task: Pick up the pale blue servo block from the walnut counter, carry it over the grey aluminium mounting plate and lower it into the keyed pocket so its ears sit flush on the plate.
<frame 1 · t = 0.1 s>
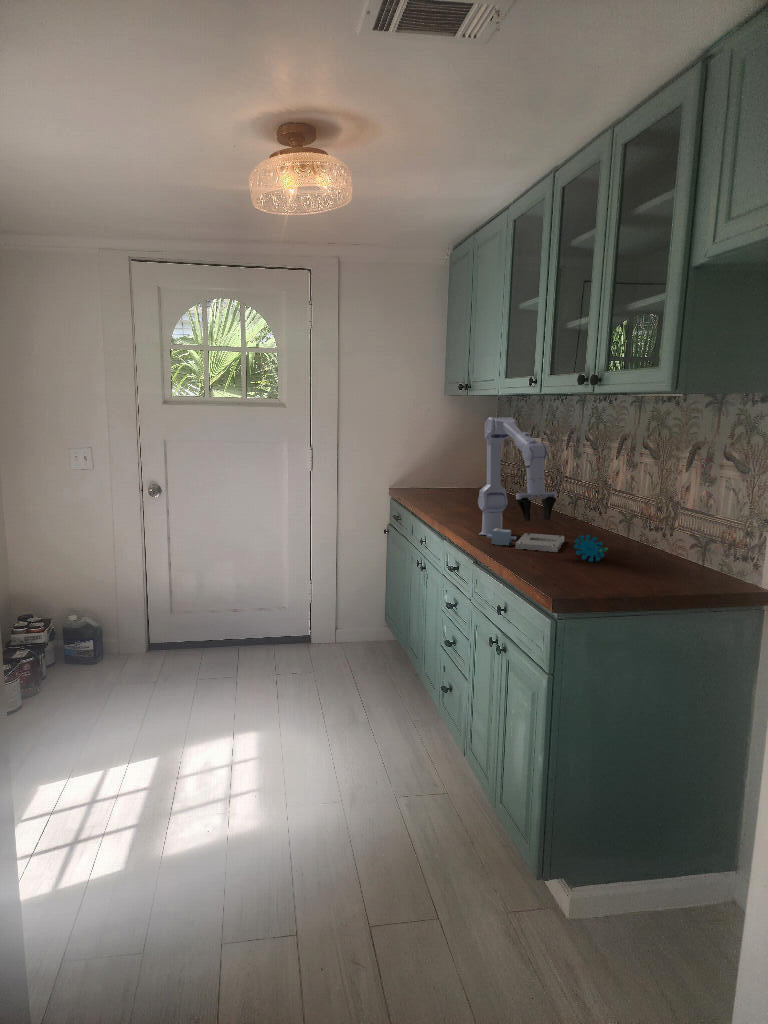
hand: (537, 520, 226), 11 cm above the worktop, tool pointing down, fingers open, 7 cm apart
gear: (590, 560, 216), on the worktop
servo: (501, 544, 239), on the worktop
plate: (540, 545, 238), on the worktop
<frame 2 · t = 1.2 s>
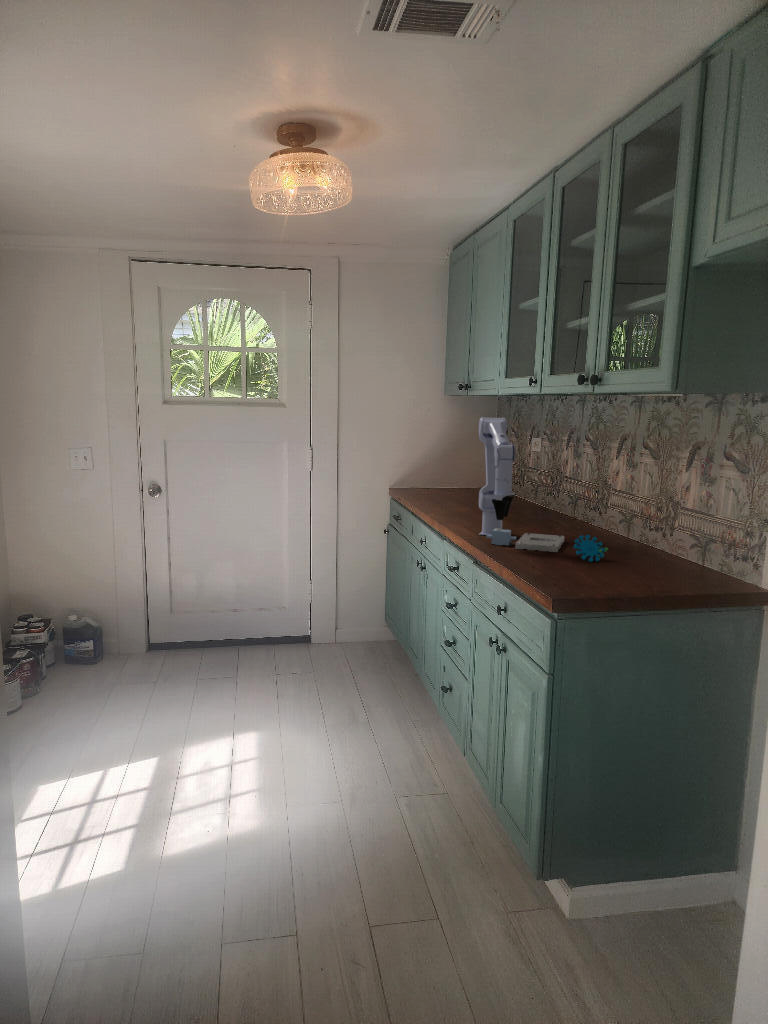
hand: (502, 518, 237), 9 cm above the worktop, tool pointing down, fingers open, 7 cm apart
nothing on the worktop moved.
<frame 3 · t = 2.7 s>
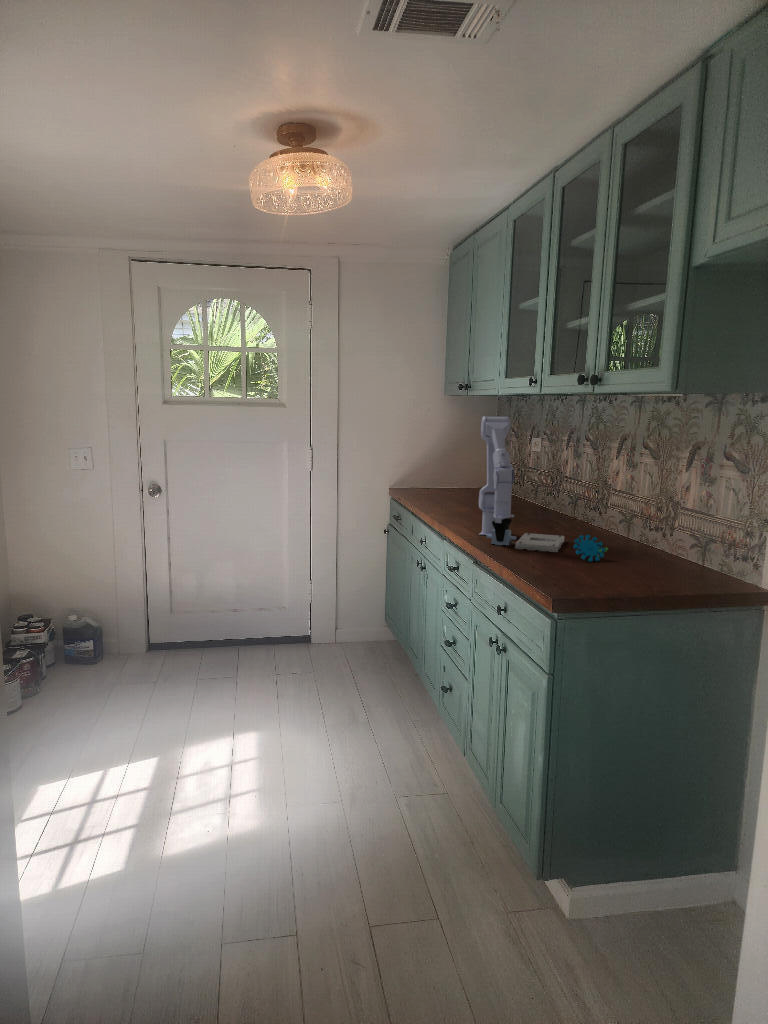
hand: (501, 540, 239), 1 cm above the worktop, tool pointing down, fingers closed on servo, 4 cm apart
servo: (501, 544, 239), on the worktop, touching gripper
everything else where it was.
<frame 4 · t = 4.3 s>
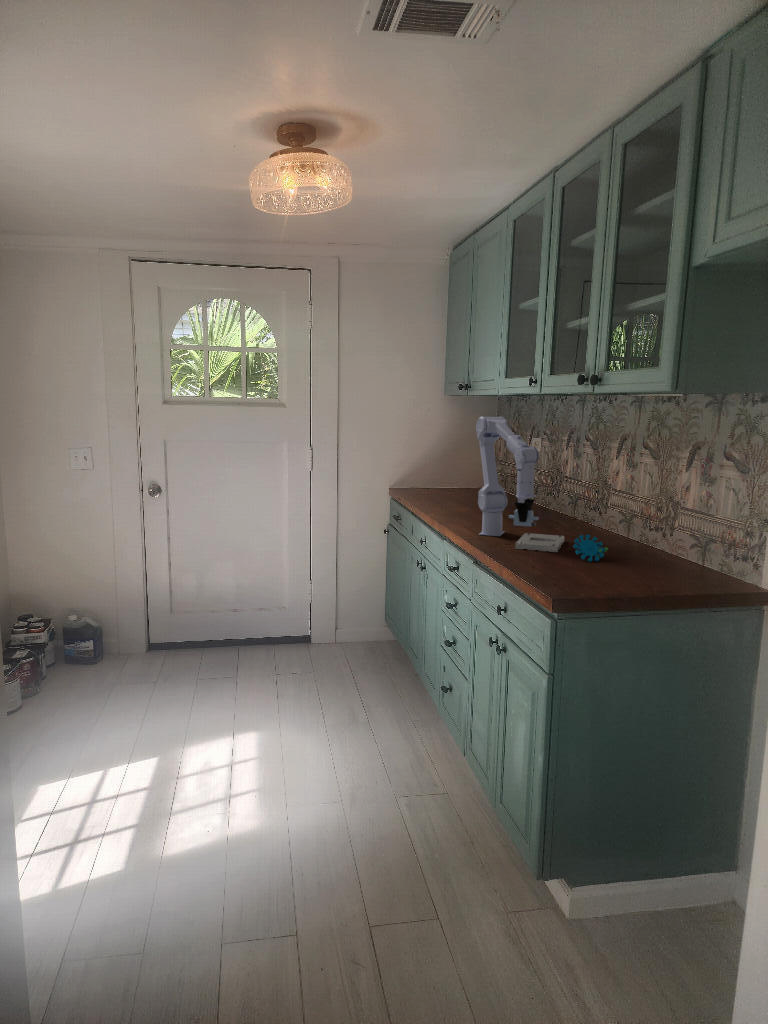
hand: (523, 520, 237), 8 cm above the worktop, tool pointing down, fingers closed on servo, 4 cm apart
servo: (523, 524, 237), point 7 cm above the worktop, touching gripper
everything else where it was.
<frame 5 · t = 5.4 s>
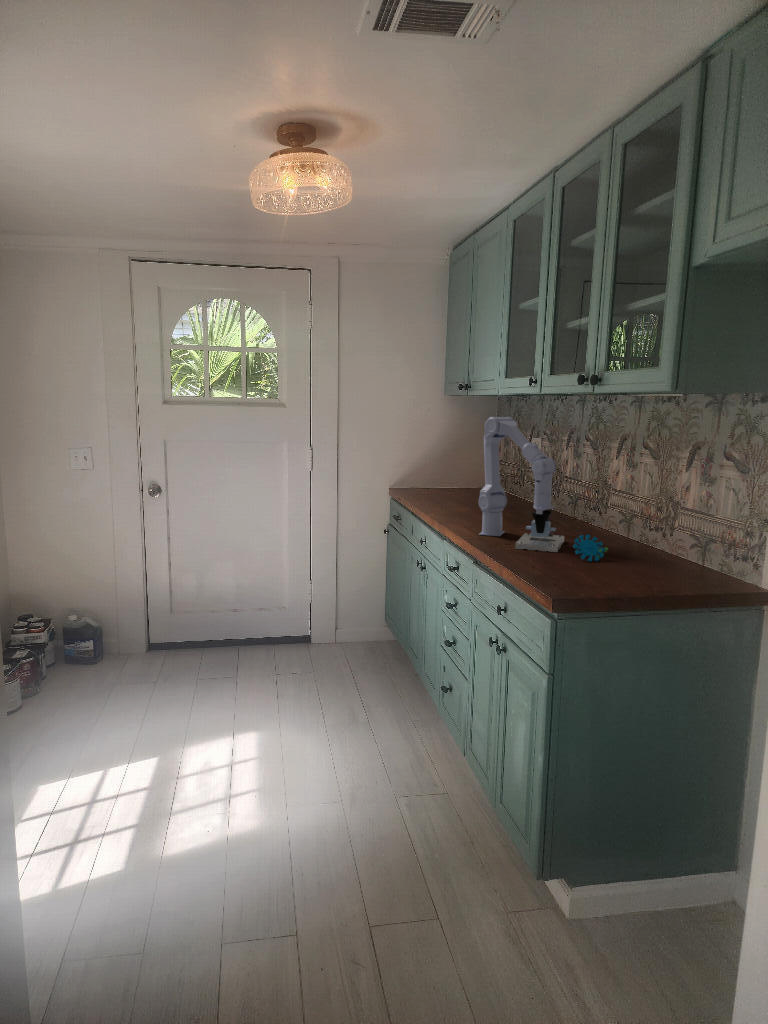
hand: (541, 531, 237), 5 cm above the worktop, tool pointing down, fingers closed on servo, 4 cm apart
servo: (540, 535, 238), point 3 cm above the worktop, touching gripper
everything else where it was.
when the fingers open (3 cm above the worktop, at t = 6.2 s): servo drops 1 cm, resting in plate.
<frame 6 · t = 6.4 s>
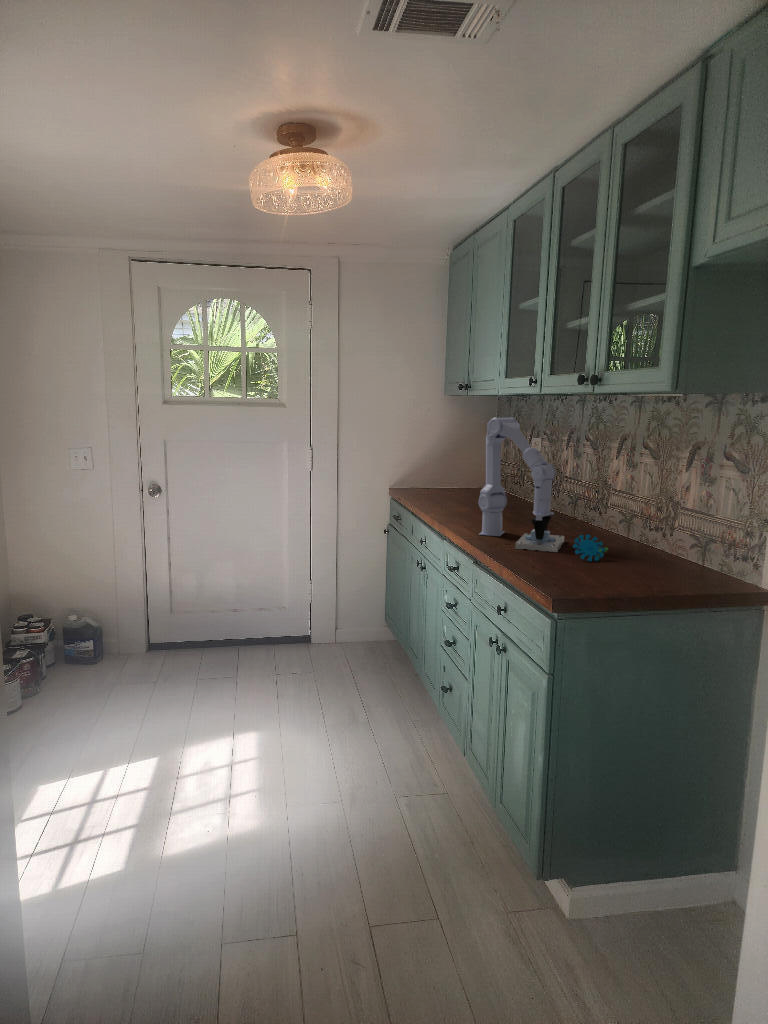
hand: (540, 537, 238), 3 cm above the worktop, tool pointing down, fingers open, 5 cm apart
servo: (539, 545, 238), resting in plate
everything else where it was.
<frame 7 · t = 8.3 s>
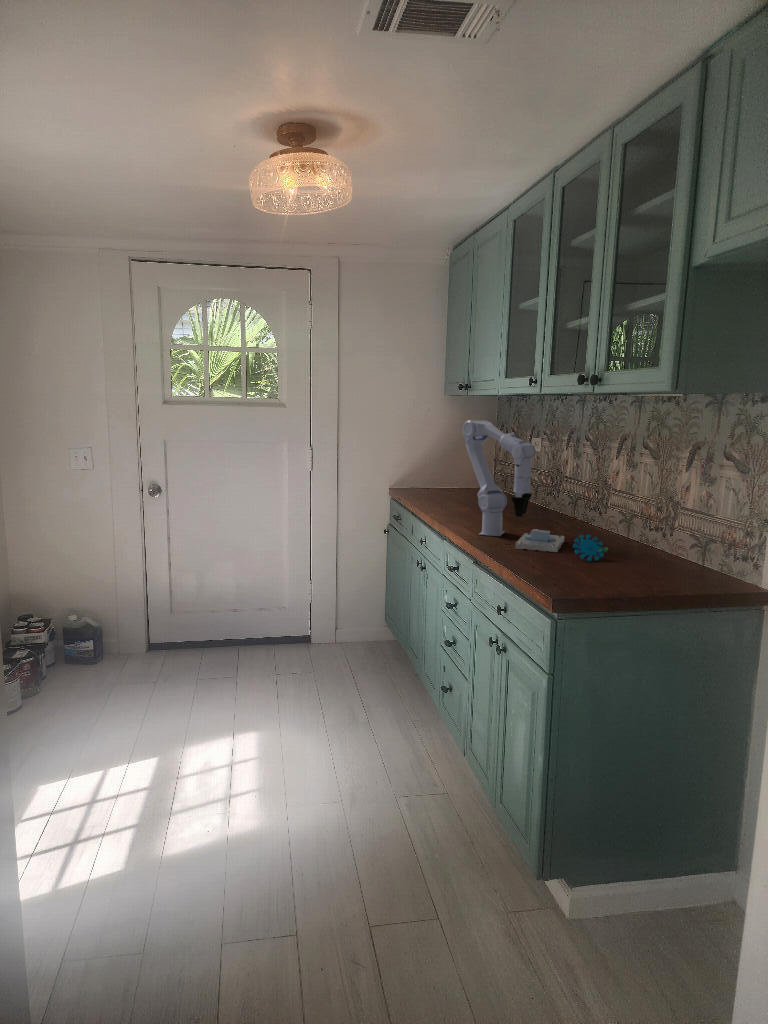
hand: (520, 514, 244), 9 cm above the worktop, tool pointing down, fingers open, 7 cm apart
nothing on the worktop moved.
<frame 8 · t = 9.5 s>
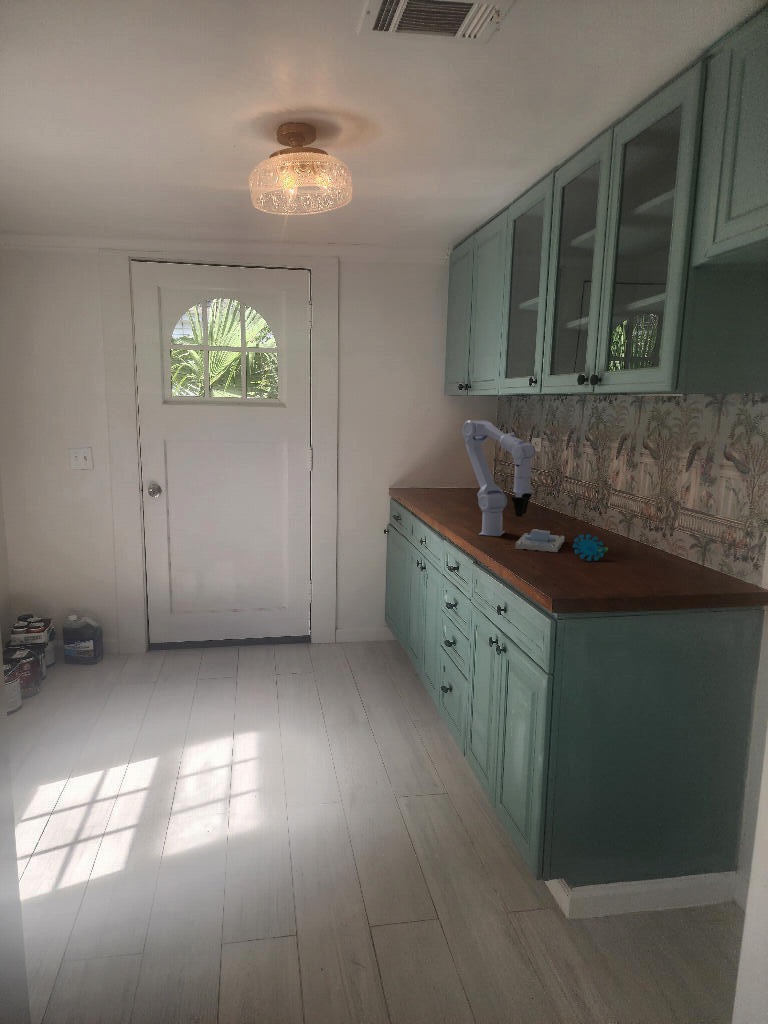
hand: (520, 514, 244), 9 cm above the worktop, tool pointing down, fingers open, 7 cm apart
at the end: servo 0.2 cm off-centre on the plate, point 0.0 cm above the plate's base; servo tilted 0°; the gripper is holding nothing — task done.
